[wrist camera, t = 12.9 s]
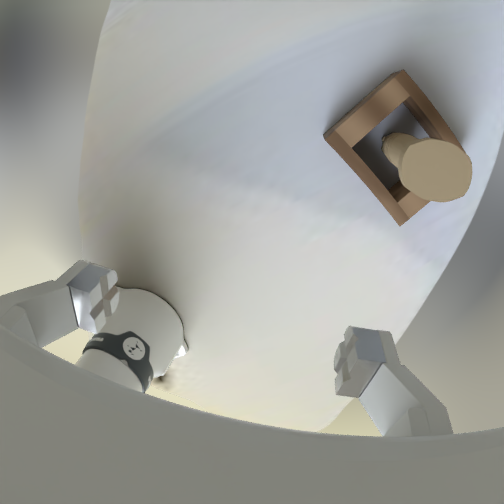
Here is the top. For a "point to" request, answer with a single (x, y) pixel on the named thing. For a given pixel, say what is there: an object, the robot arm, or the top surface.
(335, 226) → the top surface
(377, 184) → the frame
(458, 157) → the handle
